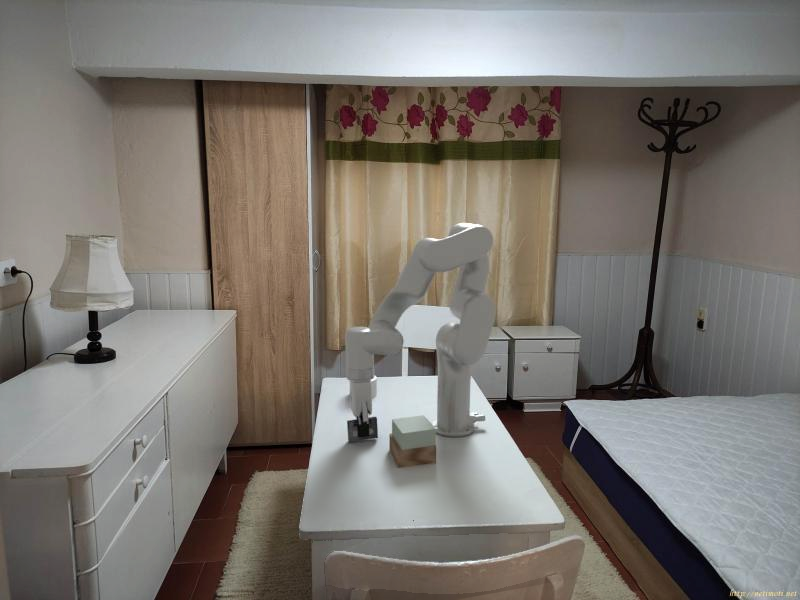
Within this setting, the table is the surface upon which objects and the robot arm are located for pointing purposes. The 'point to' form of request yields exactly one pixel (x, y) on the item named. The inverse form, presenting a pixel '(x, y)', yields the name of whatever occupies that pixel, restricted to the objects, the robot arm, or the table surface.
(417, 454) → the tower base block
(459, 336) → the robot arm
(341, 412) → the table surface
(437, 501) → the table surface
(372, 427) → the mini dv tape
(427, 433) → the tower top block
